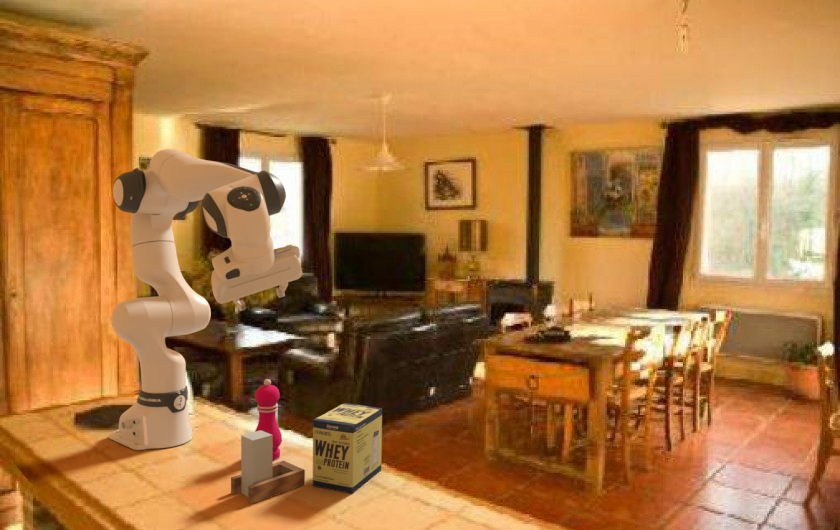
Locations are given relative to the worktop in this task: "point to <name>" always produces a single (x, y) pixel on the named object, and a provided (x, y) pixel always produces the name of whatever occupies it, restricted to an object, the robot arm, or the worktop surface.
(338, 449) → the protein box
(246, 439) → the tall white pillar
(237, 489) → the rack
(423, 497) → the worktop surface
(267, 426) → the pepper mill
